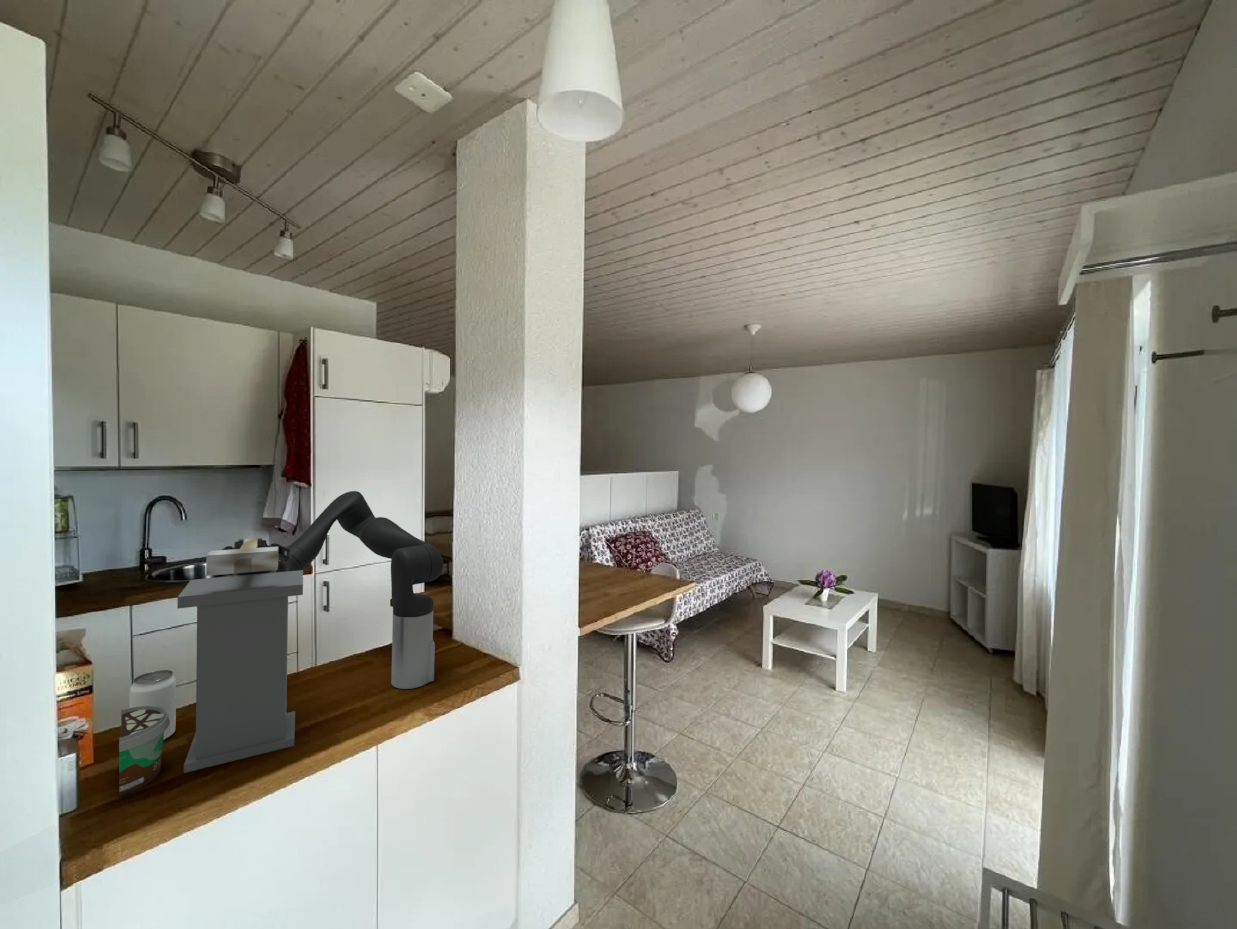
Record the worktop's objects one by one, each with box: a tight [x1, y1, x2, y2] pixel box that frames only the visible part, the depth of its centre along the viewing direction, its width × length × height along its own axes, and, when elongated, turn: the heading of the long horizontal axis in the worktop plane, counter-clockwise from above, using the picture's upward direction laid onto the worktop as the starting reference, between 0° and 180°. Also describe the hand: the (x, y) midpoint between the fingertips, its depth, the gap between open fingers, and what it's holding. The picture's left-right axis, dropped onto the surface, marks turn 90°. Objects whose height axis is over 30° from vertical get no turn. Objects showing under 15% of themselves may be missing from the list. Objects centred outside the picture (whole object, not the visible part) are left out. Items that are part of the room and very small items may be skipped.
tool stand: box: [176, 569, 304, 774], centre depth 94 cm, size 18×12×31 cm, turn 123°
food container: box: [118, 706, 170, 797], centre depth 85 cm, size 12×6×10 cm, turn 44°
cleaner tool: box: [205, 537, 278, 577], centre depth 95 cm, size 10×20×4 cm, turn 33°
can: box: [129, 669, 177, 741], centre depth 95 cm, size 6×6×12 cm
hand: (249, 543), depth 98 cm, fingers closed on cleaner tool, 2 cm apart
